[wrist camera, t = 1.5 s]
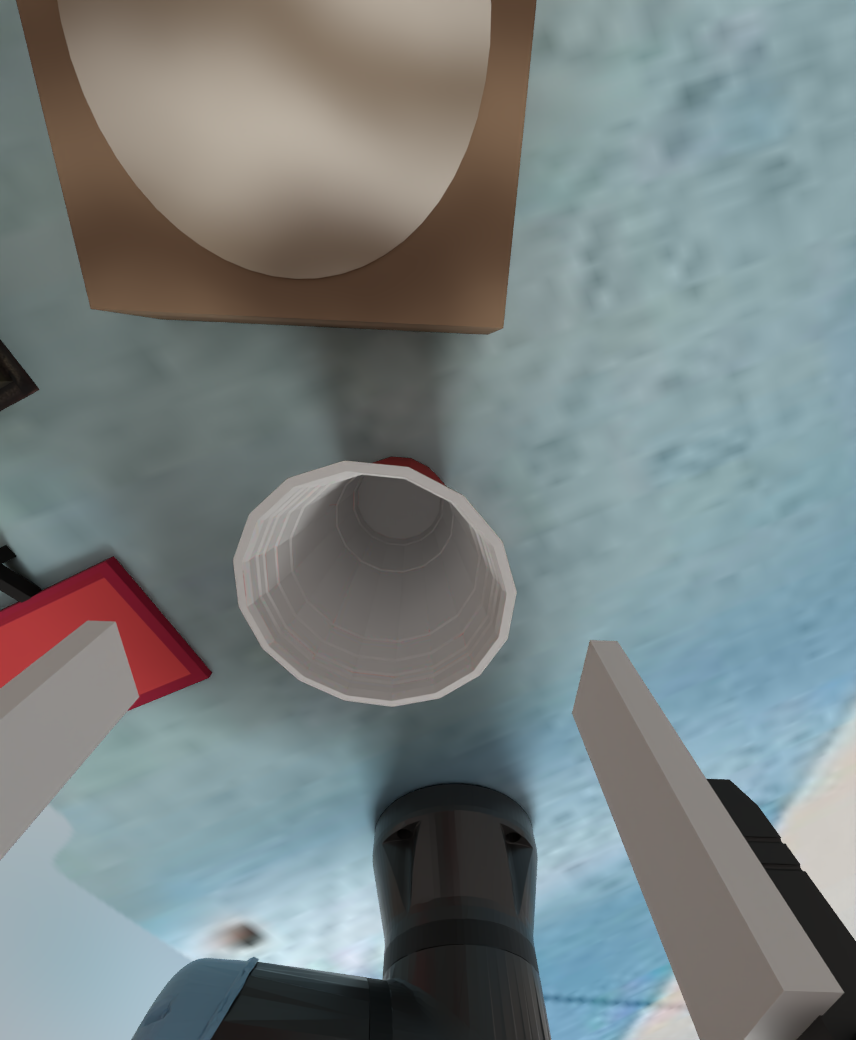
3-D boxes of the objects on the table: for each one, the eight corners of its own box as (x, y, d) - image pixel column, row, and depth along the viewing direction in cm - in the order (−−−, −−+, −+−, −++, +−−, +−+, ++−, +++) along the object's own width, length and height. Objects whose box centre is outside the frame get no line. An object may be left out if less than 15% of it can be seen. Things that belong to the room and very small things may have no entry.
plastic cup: (294, 425, 24) (178, 482, 13) (472, 404, 24) (510, 444, 13) (331, 580, 28) (266, 725, 17) (484, 565, 28) (521, 704, 17)
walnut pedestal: (487, 334, 22) (503, 327, 18) (161, 319, 22) (88, 308, 17) (533, -175, 16) (579, -412, 11) (65, -204, 15) (-100, -460, 11)
